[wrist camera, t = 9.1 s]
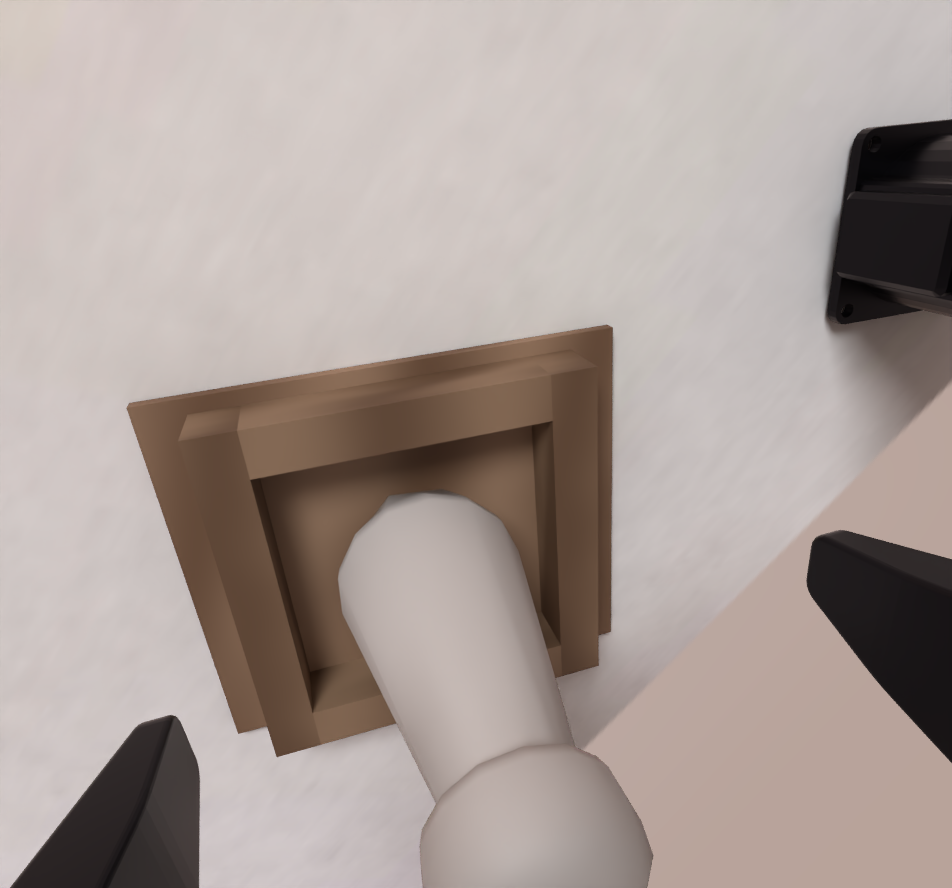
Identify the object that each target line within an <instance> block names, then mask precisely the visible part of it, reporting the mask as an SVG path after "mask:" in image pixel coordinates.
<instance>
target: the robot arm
mask: <svg viewBox="0 0 952 888" xmlns="http://www.w3.org/2000/svg"><path fill="white" fill-rule="evenodd" d="M870 140H871V147H870V149H869V150H868V144H869V142H870ZM844 306H845V308H844V311H843V312H842V309H843V307H844ZM921 310H926V311H930V312H934V313H938V314H943V315H947V316H951V317H952V119H949V120H940V121H930V122H920V123H911V124H901V125H891V126H882V127H872V128H866V129H863V130H862V131H861V132H859V133H858V135H857V136H856V138H855V139H854V142H853V146H852V152H851V159H850V165H849V172H848V179H847V185H846V192H845V199H844V205H843V212H842V218H841V225H840V232H839V238H838V245H837V251H836V258H835V265H834V271H833V278H832V284H831V291H830V298H829V304H828V317H829V319H830V320H831V321H833V322H836V323H840V324H849V323H854V322H860V321H865V320H871V319H877V318H882V317H888V316H893V315H899V314H905V313H910V312H916V311H921ZM807 587H808V590H809V593H810V595H811V596H812V598H813V599H814V601H815V602H816V603H817V605H818V606H819V607H820V609H821V610H822V611H823V612H824V614H825V615H826V616H827V618H828V619H829V620H830V622H831V623H832V624H833V625H834V626H835V628H836V629H837V630H838V632H839V633H840V634H841V636H842V637H843V638H844V640H845V641H846V642H847V644H848V645H849V646H850V647H851V649H852V650H853V651H854V653H855V654H856V655H857V656H858V658H859V659H860V660H861V662H862V663H863V664H864V666H865V667H866V668H867V669H868V671H869V672H870V673H871V674H872V676H873V677H874V678H875V679H876V681H877V682H878V683H879V684H880V685H881V686H882V688H883V689H884V690H885V691H886V692H887V693H888V694H889V695H890V697H891V698H892V699H893V700H894V701H895V702H896V703H897V704H898V705H899V706H900V707H901V709H902V710H903V711H904V712H905V713H906V714H907V715H908V716H909V717H910V718H911V719H912V720H913V722H914V723H915V724H916V725H917V726H918V727H919V728H920V729H921V730H922V731H923V732H924V734H926V736H927V737H928V738H929V739H930V740H931V741H932V742H933V743H934V744H935V745H936V746H937V748H938V749H939V750H940V751H941V752H942V753H943V754H944V755H945V756H946V757H947V758H948V759H949V761H950V762H951V763H952V559H948V558H945V557H941V556H937V555H934V554H930V553H926V552H922V551H918V550H915V549H912V548H907V547H904V546H900V545H897V544H893V543H889V542H886V541H882V540H878V539H874V538H871V537H867V536H864V535H860V534H856V533H853V532H849V531H844V530H838V531H834V532H830V533H826V534H823V535H820V536H818V537H816V538H815V540H814V541H813V542H812V546H811V553H810V560H809V566H808V573H807ZM199 816H200V776H199V768H198V763H197V760H196V757H195V755H194V753H193V750H192V748H191V746H190V743H189V741H188V738H187V736H186V734H185V731H184V729H183V727H182V724H181V722H180V721H179V719H178V718H177V717H176V716H172V715H168V716H165V717H161V718H158V719H154V720H150V721H147V722H143V723H141V724H139V725H138V726H137V727H136V728H135V729H134V730H133V731H132V732H131V734H130V735H129V736H128V738H127V739H126V740H125V741H124V743H123V744H122V745H121V747H120V748H119V749H118V750H117V752H116V753H115V754H114V755H113V757H112V758H111V759H110V761H109V762H108V763H107V764H106V766H105V767H104V768H103V770H102V771H101V772H100V773H99V775H98V776H97V777H96V778H95V780H94V781H93V782H92V784H91V785H90V786H89V787H88V789H87V790H86V791H85V793H84V794H83V795H82V796H81V798H80V799H79V800H78V802H77V803H76V804H75V805H74V807H73V808H72V809H71V810H70V812H69V813H68V814H67V816H66V817H65V818H64V819H63V821H62V822H61V823H60V825H59V826H58V827H57V828H56V830H55V831H54V832H53V833H52V835H51V836H50V837H49V839H48V840H47V841H46V842H45V844H44V845H43V846H42V848H41V849H40V850H39V851H38V853H37V854H36V855H35V856H34V858H33V859H32V860H31V862H30V863H29V864H28V865H27V867H26V868H25V869H24V871H23V872H22V873H21V874H20V876H19V877H18V878H17V879H16V881H15V882H14V883H13V885H12V886H11V887H10V888H199Z"/></svg>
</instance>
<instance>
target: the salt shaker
mask: <svg viewBox="0 0 952 888" xmlns="http://www.w3.org/2000/svg"><path fill="white" fill-rule="evenodd" d="M338 583H339V591H340V599H341V607H342V614H343V616H344V618H345V620H346V622H347V624H348V626H349V628H350V630H351V632H352V634H353V636H354V638H355V640H356V642H357V644H358V646H359V648H360V650H361V652H362V654H363V656H364V658H365V660H366V662H367V664H368V666H369V668H370V670H371V672H372V675H373V677H374V679H375V681H376V683H377V685H378V687H379V689H380V691H381V693H382V695H383V697H384V699H385V701H386V703H387V705H388V707H389V709H390V711H391V713H392V715H393V717H394V719H395V721H396V723H397V725H398V727H399V729H400V731H401V733H402V735H403V737H404V739H405V741H406V743H407V745H408V748H409V750H410V752H411V754H412V756H413V758H414V760H415V762H416V764H417V766H418V768H419V770H420V772H421V774H422V776H423V778H424V780H425V782H426V784H427V786H428V788H429V790H430V792H431V794H432V796H433V798H434V800H435V802H436V806H435V808H434V809H433V811H432V813H431V815H430V816H429V818H428V820H427V822H426V823H425V825H424V827H423V829H422V833H421V840H420V859H421V874H422V884H423V888H647V886H648V881H649V875H650V870H651V865H652V859H653V854H652V851H651V848H650V845H649V842H648V839H647V836H646V833H645V830H644V828H643V825H642V822H641V820H640V818H639V817H638V815H637V813H636V812H635V810H634V808H633V807H632V805H631V803H630V802H629V800H628V798H627V797H626V795H625V794H624V792H623V790H622V788H621V787H620V785H619V784H618V782H617V780H616V779H615V777H614V776H613V774H612V772H611V771H610V769H609V767H608V766H607V765H605V764H604V763H603V762H602V761H601V760H600V759H599V758H598V757H597V756H594V755H592V754H590V753H587V752H585V751H583V750H580V749H578V748H576V747H575V744H574V741H573V737H572V734H571V731H570V727H569V724H568V720H567V717H566V713H565V710H564V706H563V703H562V700H561V696H560V693H559V689H558V686H557V682H556V679H555V675H554V672H553V669H552V665H551V662H550V658H549V655H548V651H547V648H546V644H545V641H544V638H543V634H542V631H541V627H540V624H539V620H538V617H537V613H536V610H535V606H534V603H533V600H532V596H531V593H530V589H529V586H528V582H527V579H526V575H525V572H524V569H523V565H522V562H521V558H520V555H519V551H518V549H517V547H516V546H515V544H514V542H513V540H512V538H511V537H510V535H509V533H508V531H507V529H506V528H505V526H504V524H503V522H502V521H501V520H500V519H499V518H498V517H497V516H496V515H495V514H494V513H492V512H490V511H489V510H487V509H485V508H484V507H482V506H480V505H479V504H477V503H475V502H474V501H472V500H470V499H469V498H467V497H465V496H462V495H459V494H456V493H453V492H450V491H447V490H444V489H437V490H429V491H421V492H413V493H405V494H397V495H390V496H388V498H387V499H386V500H385V502H384V503H383V504H382V506H381V507H380V508H379V510H378V511H377V512H376V513H375V515H374V516H373V517H372V518H371V519H370V520H369V521H368V522H367V523H366V524H365V525H364V526H363V527H362V528H361V529H360V530H359V531H358V532H357V533H356V534H355V536H354V538H353V540H352V542H351V544H350V546H349V549H348V551H347V553H346V555H345V557H344V559H343V562H342V564H341V566H340V568H339V575H338Z"/></svg>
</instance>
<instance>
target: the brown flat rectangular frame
mask: <svg viewBox="0 0 952 888" xmlns="http://www.w3.org/2000/svg"><path fill="white" fill-rule="evenodd" d="M612 346H613V328H612V327H610V326H608V325H603V326H597V327H591V328H585V329H579V330H573V331H567V332H561V333H554V334H548V335H542V336H536V337H530V338H524V339H518V340H512V341H506V342H500V343H493V344H487V345H481V346H475V347H469V348H463V349H457V350H451V351H445V352H439V353H432V354H426V355H420V356H414V357H408V358H402V359H396V360H390V361H384V362H377V363H371V364H365V365H359V366H353V367H347V368H341V369H335V370H329V371H323V372H316V373H310V374H304V375H298V376H292V377H286V378H280V379H274V380H268V381H262V382H255V383H249V384H243V385H237V386H231V387H225V388H219V389H213V390H207V391H201V392H194V393H188V394H182V395H176V396H170V397H164V398H158V399H152V400H146V401H139V402H133V403H129V405H128V406H127V411H128V413H129V416H130V419H131V422H132V425H133V428H134V431H135V434H136V437H137V440H138V443H139V446H140V448H141V451H142V454H143V457H144V460H145V463H146V466H147V469H148V472H149V475H150V478H151V481H152V483H153V486H154V489H155V492H156V495H157V498H158V501H159V504H160V507H161V510H162V513H163V516H164V518H165V521H166V524H167V527H168V530H169V533H170V536H171V539H172V542H173V545H174V548H175V551H176V553H177V556H178V559H179V562H180V565H181V568H182V571H183V574H184V577H185V580H186V583H187V585H188V588H189V591H190V594H191V597H192V600H193V603H194V606H195V609H196V612H197V615H198V618H199V620H200V623H201V626H202V629H203V632H204V635H205V638H206V641H207V644H208V647H209V650H210V653H211V655H212V658H213V661H214V664H215V667H216V670H217V673H218V676H219V679H220V682H221V685H222V688H223V690H224V693H225V696H226V699H227V702H228V705H229V708H230V711H231V714H232V717H233V720H234V723H235V725H236V728H237V731H238V734H240V733H243V732H247V731H251V730H254V729H258V728H261V727H265V726H267V727H268V730H269V734H270V737H271V740H272V743H273V746H274V750H275V753H276V756H277V757H279V756H283V755H286V754H290V753H293V752H297V751H300V750H304V749H307V748H311V747H314V746H318V745H321V744H325V743H328V742H332V741H335V740H339V739H342V738H346V737H349V736H353V735H356V734H360V733H363V732H367V731H370V730H374V729H377V728H381V727H384V726H388V725H391V724H395V723H396V721H395V719H394V717H393V715H392V713H391V711H390V709H389V707H388V705H387V703H386V701H385V699H384V697H383V695H382V693H381V691H380V689H379V687H378V685H377V683H376V681H375V679H374V677H373V675H372V672H371V670H370V668H369V666H368V664H367V662H366V660H365V658H364V656H363V654H362V652H361V650H360V648H359V646H358V644H357V642H356V640H355V638H354V636H353V634H352V632H351V630H350V628H349V626H348V624H347V622H346V620H345V618H344V616H343V614H342V607H341V599H340V591H339V583H338V575H339V568H340V566H341V564H342V562H343V559H344V557H345V555H346V553H347V551H348V549H349V546H350V544H351V542H352V540H353V538H354V536H355V534H356V533H357V532H358V531H359V530H360V529H361V528H362V527H363V526H364V525H365V524H366V523H367V522H368V521H369V520H370V519H371V518H372V517H373V516H374V515H375V513H376V512H377V511H378V510H379V508H380V507H381V506H382V504H383V503H384V502H385V500H386V499H387V498H388V496H390V495H397V494H405V493H413V492H421V491H429V490H437V489H444V490H447V491H450V492H453V493H456V494H459V495H462V496H465V497H467V498H469V499H470V500H472V501H474V502H475V503H477V504H479V505H480V506H482V507H484V508H485V509H487V510H489V511H490V512H492V513H494V514H495V515H496V516H497V517H498V518H499V519H500V520H501V521H502V522H503V524H504V526H505V528H506V529H507V531H508V533H509V535H510V537H511V538H512V540H513V542H514V544H515V546H516V547H517V549H518V551H519V555H520V558H521V562H522V565H523V569H524V572H525V575H526V579H527V582H528V586H529V589H530V593H531V596H532V600H533V603H534V606H535V610H536V613H537V617H538V620H539V624H540V627H541V631H542V634H543V638H544V641H545V644H546V648H547V651H548V655H549V658H550V662H551V665H552V669H553V672H554V675H555V678H557V677H560V676H564V675H567V674H571V673H574V672H578V671H581V670H585V669H588V668H592V667H595V666H599V659H598V635H601V634H605V633H608V632H611V496H612Z"/></svg>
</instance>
